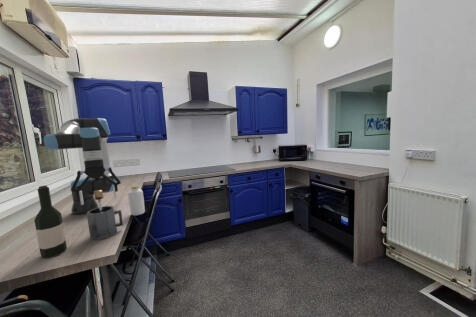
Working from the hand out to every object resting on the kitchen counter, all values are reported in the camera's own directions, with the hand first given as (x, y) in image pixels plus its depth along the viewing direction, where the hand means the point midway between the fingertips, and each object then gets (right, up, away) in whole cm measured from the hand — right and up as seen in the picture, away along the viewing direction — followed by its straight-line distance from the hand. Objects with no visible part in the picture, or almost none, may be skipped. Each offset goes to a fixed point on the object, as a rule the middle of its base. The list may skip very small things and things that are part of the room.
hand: (99, 201), depth 98 cm
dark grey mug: (+2, -17, +3) cm, 18 cm away
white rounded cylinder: (+5, -15, +28) cm, 32 cm away
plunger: (+1, -14, +2) cm, 14 cm away
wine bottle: (-11, -20, -13) cm, 26 cm away
